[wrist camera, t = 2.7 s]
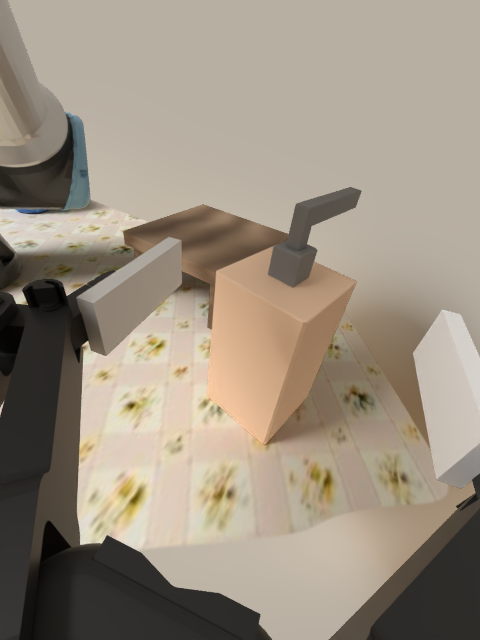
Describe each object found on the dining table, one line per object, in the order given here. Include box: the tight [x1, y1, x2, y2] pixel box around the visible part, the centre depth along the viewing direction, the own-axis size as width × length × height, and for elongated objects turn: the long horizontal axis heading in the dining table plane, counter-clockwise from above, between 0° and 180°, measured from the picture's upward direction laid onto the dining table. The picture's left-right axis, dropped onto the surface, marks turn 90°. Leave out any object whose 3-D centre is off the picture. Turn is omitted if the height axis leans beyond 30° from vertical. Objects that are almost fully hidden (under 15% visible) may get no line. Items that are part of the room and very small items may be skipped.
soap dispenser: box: [207, 187, 361, 445], centre depth 29 cm, size 13×9×22 cm
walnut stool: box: [123, 205, 289, 329], centre depth 47 cm, size 18×18×10 cm
